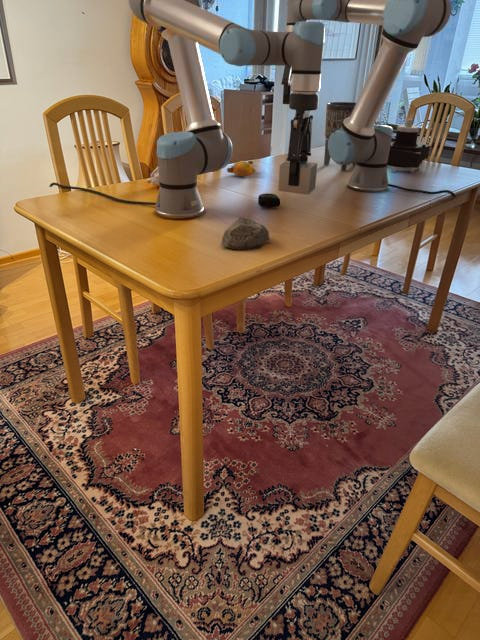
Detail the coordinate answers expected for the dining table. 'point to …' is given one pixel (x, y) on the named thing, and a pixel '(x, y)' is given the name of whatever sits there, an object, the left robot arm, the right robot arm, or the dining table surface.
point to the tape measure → (269, 200)
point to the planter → (336, 123)
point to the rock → (245, 234)
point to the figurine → (154, 177)
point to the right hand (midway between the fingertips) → (291, 103)
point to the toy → (242, 168)
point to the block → (305, 178)
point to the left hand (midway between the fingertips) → (297, 182)
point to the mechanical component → (407, 149)
